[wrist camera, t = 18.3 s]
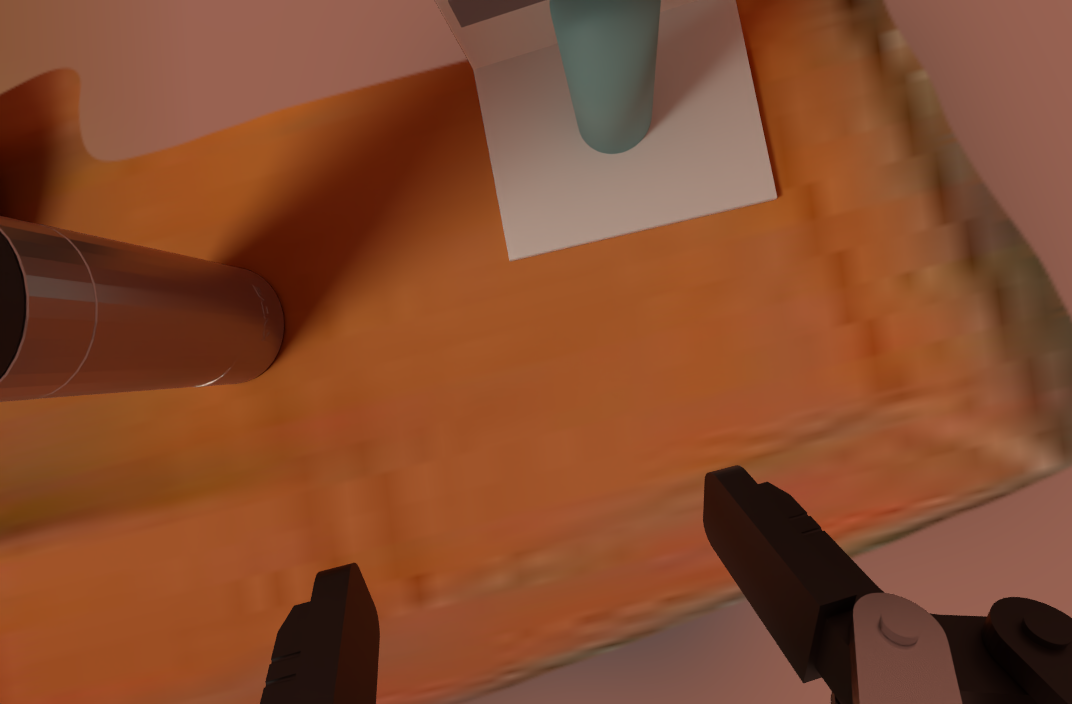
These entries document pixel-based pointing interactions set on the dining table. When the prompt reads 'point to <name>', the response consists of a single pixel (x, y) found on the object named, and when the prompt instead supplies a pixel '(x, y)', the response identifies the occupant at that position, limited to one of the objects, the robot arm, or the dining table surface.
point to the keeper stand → (625, 178)
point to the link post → (609, 67)
